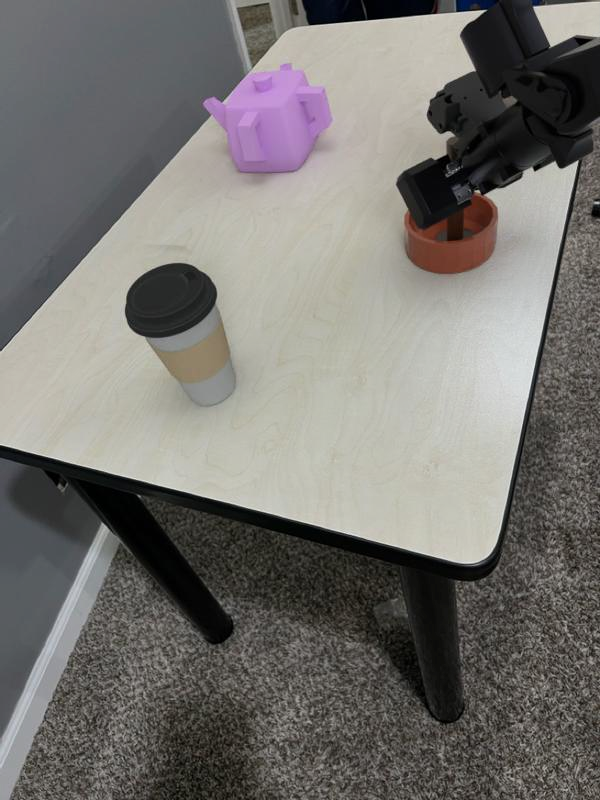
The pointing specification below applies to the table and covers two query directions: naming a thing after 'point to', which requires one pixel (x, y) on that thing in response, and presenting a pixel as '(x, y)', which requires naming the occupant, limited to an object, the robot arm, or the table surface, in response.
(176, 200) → the table surface
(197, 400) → the coffee cup
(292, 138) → the teakettle
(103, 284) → the table surface
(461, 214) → the dark brown rod
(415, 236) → the bowl
